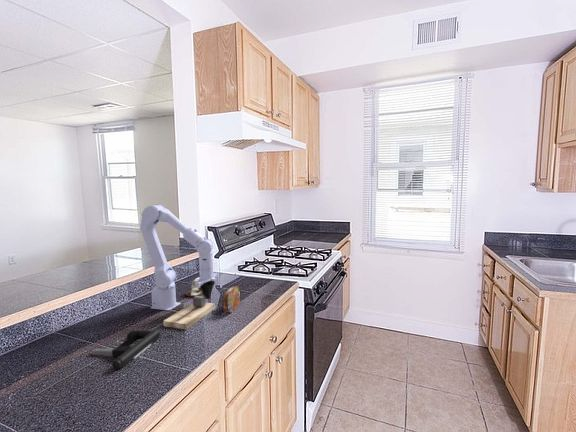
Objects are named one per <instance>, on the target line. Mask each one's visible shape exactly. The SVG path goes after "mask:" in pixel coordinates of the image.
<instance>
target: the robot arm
mask: <svg viewBox="0 0 576 432" xmlns="http://www.w3.org/2000/svg"><path fill="white" fill-rule="evenodd" d="M140 215H141V220H140V221H141V222H140V226H139V228H140V233H141V235H142V237H143V239H144V244H145V246H146V247H147V248H146V249H148V250H147V251H148V253H149V256H150V259H151V261H152V263H153V266H154V270H153V271H154V272H153V275H154V284H155V286H154V287H152V290H151V307H150V309H153V310H161V311H171V310H173V309H174V308H176V307H177V306H179V305H181V304H182V303H181V302H180V301H179V302H177V296H176V295H177V294H176V283H175V280H176V278H177V272H176V271H175V270H174V269H173V268H172V265H171V264H170V263H168V261H167V258H166V255H165V251H164V249H163V247H162V245H161V244H162V243H161V242H160V239H159V236H158V234H157V230H156V227H157V225H158V224H159V222H160V223H161V222H162V223H168V224H169V225H170V226H171V227H173V228H174V229H175V230H176V231H178V232H180V233H181V234H182V235H183V240H185V241H186V242H188V243H189V244H190V245H191V246H193V248H195V249H196V251H197V253H198V266H199V267H198V268H199V277H198V278H199V279H198V281H197V282H195V287H198V288H199V287H200V288H201V290H202V292H203V295H204V296H205V300H209V299H211V297H212V293H213V292H212V291H213V288H214V285H215V284H216V281H215V280H216V279H217V278H218V272H214V261H213V260H214V258H213V251H212V250H213V248H214V243H213V242H212V241H211V239H209V238H207V237H206V236H204V235H203V234H201V233H199V230H198V229H197V228H194V227H188V226H187V225H186V224H184V223H183V221H182V220H180V219H179V218H178V217H177V216H176V215H175V214H174V213H173V212H172V211H171V210H169V209H168V208H167V207H166V208H165V206H164V205H163V204H154V205H148V206H145V208H144V209H143V210H142V212H141V214H140Z"/></svg>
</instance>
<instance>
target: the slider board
mask: <svg viewBox="0 0 576 432" xmlns="http://www.w3.org/2000/svg"><path fill="white" fill-rule="evenodd" d="M215 309H216V303H213V302H206V304H205V305H204V306H202V307H198V306H193V302H191V303H190V304H188V305H186V306H184V307H183V308H181V309H180V310H178V311H177V312H175V313H174V314H173V313H172V315H170V316H169V317H167V318H165V319H164V320H163V327H165V328H166V327H168V328H174V329H181V330H188V329H189V328H191V327H192V326H193V325H195V324H196V323H197V322H199V320H201V319H203V318H204V317H205V316H207V315H208V314H209V313H211V312H212V311H213V310H215Z"/></svg>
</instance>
